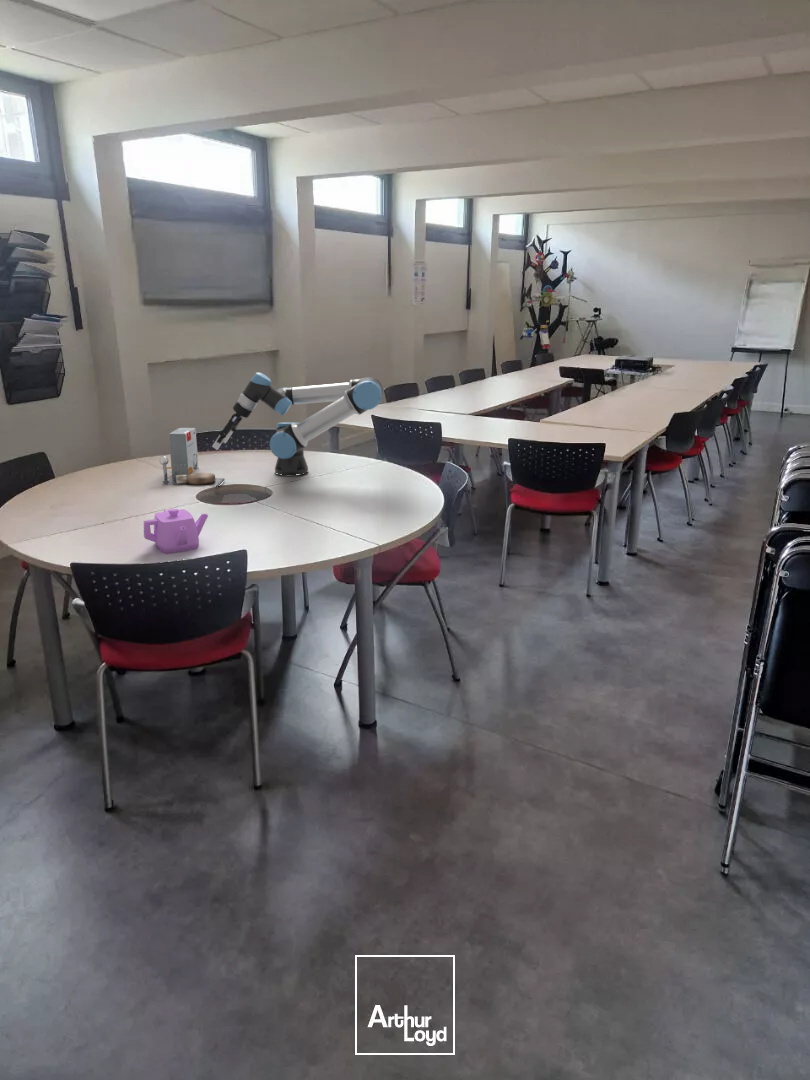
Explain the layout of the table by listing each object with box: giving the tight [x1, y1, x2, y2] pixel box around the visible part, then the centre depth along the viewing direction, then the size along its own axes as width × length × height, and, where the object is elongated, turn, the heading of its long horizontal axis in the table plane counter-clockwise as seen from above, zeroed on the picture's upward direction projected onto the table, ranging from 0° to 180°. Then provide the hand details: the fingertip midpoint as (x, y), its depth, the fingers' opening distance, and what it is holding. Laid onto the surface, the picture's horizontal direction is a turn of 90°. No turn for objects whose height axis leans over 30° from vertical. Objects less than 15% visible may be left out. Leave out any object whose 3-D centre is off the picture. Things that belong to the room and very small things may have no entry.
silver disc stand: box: [159, 456, 173, 484], centre depth 299 cm, size 5×2×11 cm, turn 108°
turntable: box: [175, 472, 216, 484], centre depth 301 cm, size 16×12×3 cm
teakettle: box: [143, 508, 209, 555], centre depth 230 cm, size 17×17×12 cm
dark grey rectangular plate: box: [161, 476, 225, 489], centre depth 302 cm, size 24×12×2 cm, turn 89°
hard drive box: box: [168, 427, 199, 476], centre depth 316 cm, size 16×8×20 cm, turn 179°
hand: (218, 444), depth 307 cm, fingers open, 13 cm apart
